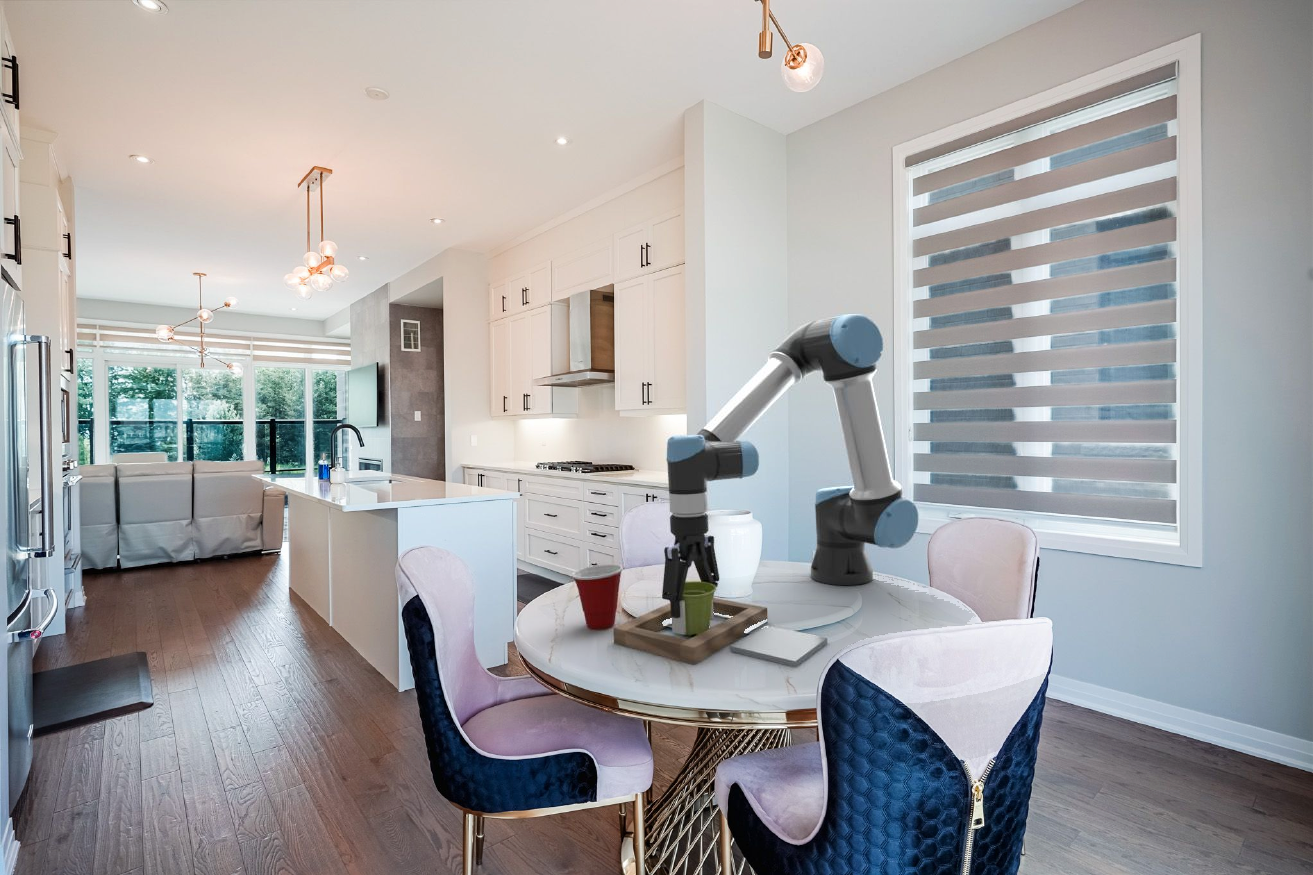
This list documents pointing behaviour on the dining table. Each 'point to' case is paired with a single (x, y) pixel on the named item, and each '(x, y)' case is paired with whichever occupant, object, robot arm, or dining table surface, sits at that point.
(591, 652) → the dining table surface
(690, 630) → the plant pot
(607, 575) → the plastic cup
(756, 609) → the open rectangular wooden frame
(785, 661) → the slate coaster
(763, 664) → the dining table surface
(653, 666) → the dining table surface
